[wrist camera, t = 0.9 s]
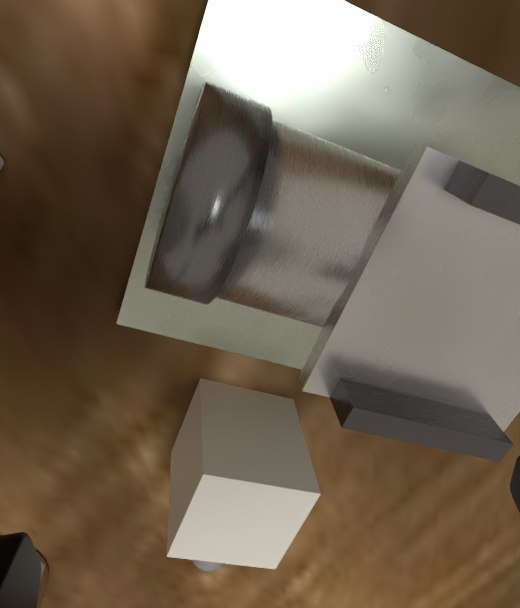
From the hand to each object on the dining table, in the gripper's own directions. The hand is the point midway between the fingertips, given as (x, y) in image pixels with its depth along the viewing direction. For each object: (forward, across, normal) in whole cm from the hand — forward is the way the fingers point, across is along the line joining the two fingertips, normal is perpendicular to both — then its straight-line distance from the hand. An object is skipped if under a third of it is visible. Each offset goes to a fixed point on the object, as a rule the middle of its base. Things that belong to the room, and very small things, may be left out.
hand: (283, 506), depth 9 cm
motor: (+13, -7, 0) cm, 15 cm away
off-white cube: (+13, +1, +10) cm, 17 cm away
